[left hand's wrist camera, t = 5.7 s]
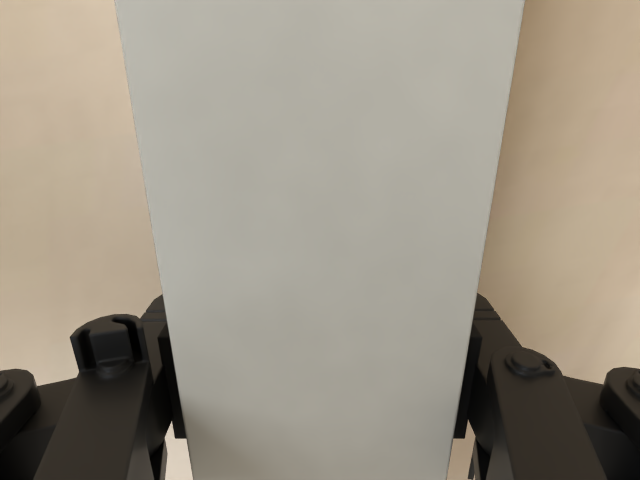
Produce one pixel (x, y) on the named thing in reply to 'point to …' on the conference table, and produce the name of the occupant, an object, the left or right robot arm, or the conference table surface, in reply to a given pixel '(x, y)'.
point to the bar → (319, 220)
